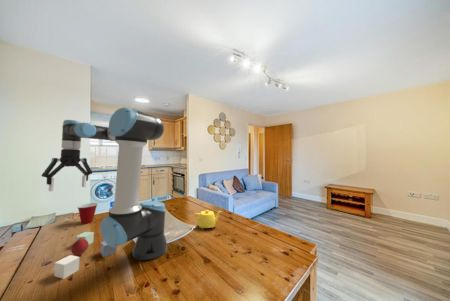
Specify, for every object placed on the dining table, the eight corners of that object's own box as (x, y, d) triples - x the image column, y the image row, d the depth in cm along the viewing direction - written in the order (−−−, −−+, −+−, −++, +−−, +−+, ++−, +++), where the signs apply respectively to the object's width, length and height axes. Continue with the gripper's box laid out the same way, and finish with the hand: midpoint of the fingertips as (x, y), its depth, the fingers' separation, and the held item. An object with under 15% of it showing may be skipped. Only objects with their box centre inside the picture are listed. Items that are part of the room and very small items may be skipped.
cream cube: (78, 270, 65) (79, 257, 65) (63, 279, 60) (64, 265, 60) (69, 267, 66) (70, 254, 66) (53, 276, 61) (54, 262, 62)
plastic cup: (86, 219, 115) (88, 201, 116) (100, 220, 114) (102, 202, 115) (70, 225, 105) (72, 206, 105) (86, 226, 103) (87, 207, 104)
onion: (77, 260, 71) (78, 241, 71) (67, 258, 72) (68, 239, 72) (91, 252, 76) (92, 235, 77) (81, 250, 78) (82, 233, 78)
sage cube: (93, 242, 86) (93, 232, 86) (85, 247, 81) (85, 236, 81) (83, 241, 86) (84, 232, 86) (75, 247, 81) (75, 236, 81)
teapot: (220, 223, 115) (221, 207, 115) (221, 230, 104) (222, 213, 104) (194, 223, 113) (195, 207, 114) (193, 230, 102) (193, 213, 103)
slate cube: (116, 252, 77) (116, 241, 77) (103, 257, 73) (103, 246, 73) (112, 248, 80) (113, 238, 80) (100, 253, 76) (100, 242, 77)
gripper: (93, 150, 101) (91, 184, 100) (34, 147, 79) (30, 192, 78) (100, 150, 98) (98, 186, 97) (40, 147, 76) (37, 194, 75)
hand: (68, 188), depth 88 cm, fingers open, 13 cm apart
